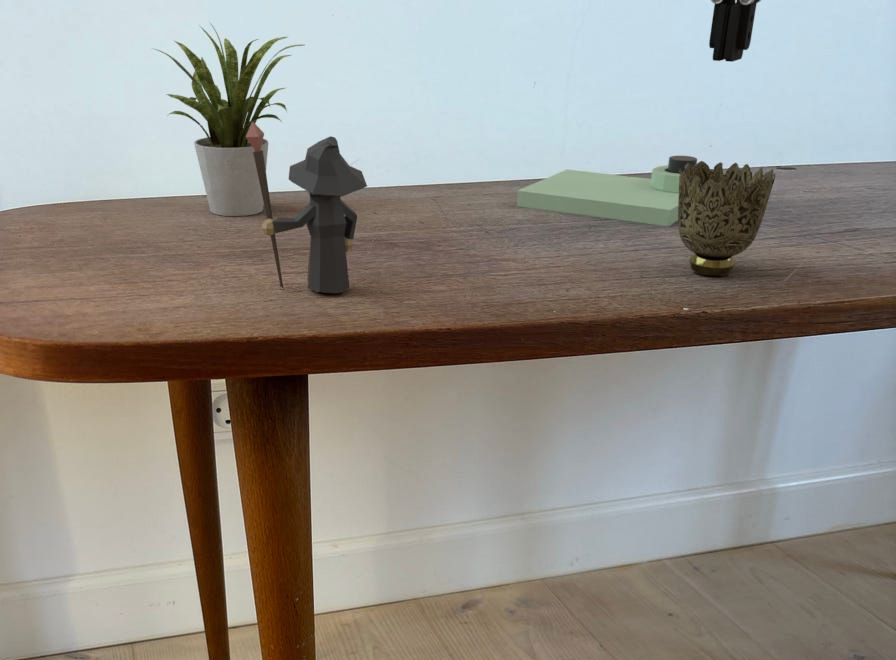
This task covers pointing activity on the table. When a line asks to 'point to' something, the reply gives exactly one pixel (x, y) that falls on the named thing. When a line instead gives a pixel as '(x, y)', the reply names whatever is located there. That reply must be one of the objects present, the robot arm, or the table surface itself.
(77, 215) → the table surface
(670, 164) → the button
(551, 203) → the scale
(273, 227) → the wizard figurine
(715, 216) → the cup
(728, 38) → the robot arm
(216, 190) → the house plant
